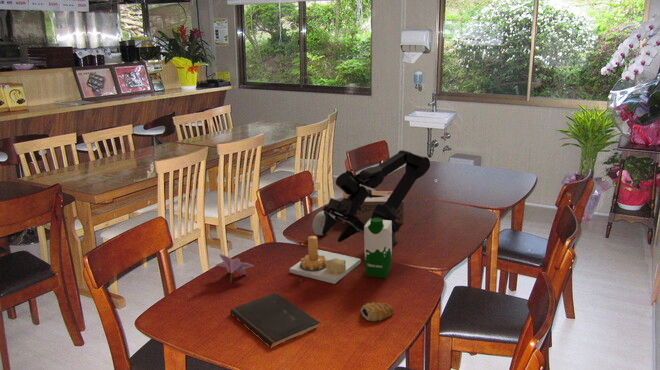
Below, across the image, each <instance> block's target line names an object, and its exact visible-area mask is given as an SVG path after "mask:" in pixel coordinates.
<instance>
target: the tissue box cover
mask: <svg viewBox="0 0 660 370" xmlns="http://www.w3.org/2000/svg"><path fill="white" fill-rule="evenodd" d="M371 191H372V198H370V197H367V198H366V199H365V201H364V202H363V204H362V205H361V207H360V208H361V209H362V210H361V211H357V213H356V215H355V216H356V217H358V218H359V219H360V220H361V221H363V222H364V223H365V224H366V223H367V222H368V221H369V220H370V219H372V218H371V216H372V214H373V211H374V210H375V208H376V206H377V205H378V204H381V205H383V204H384V203H386V201H387V200H388V198H389V197H390V195H391V194H392V192H393V191H394V190H371ZM342 193H343V194H342V198H341V200H342V199H343V198H346V199H347V197H348V196H349V195H348V194H346V193H345V192H344V191H343V192H342ZM404 201H405V200H403V201H402V202H401V204H400V206H399V207H398V209H397V214H396V219H395V222H397V223H398V224H404V211H405V209H404V206H405V204H404ZM346 219H347V218H346ZM346 222H347V221H346ZM341 223H342V224H345V221H344V220H342V219H341ZM348 223H349V222H348Z"/></svg>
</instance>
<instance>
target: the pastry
mask: <svg viewBox="0 0 660 370" xmlns="http://www.w3.org/2000/svg"><path fill="white" fill-rule="evenodd" d="M360 312H361V315H362V317H364V318H365V319H366V321H369V322H377V321H383V320H384V319H387V318H389V317H391V316H392V315H393V314H394V312H395V311H394V307H393V305H392V304H390V303H387V302H386V303H385V302H379V301H378V302H374V301H372V302H371V303H370V302H367V303H366V304H364V305H362V307H361V308H360Z"/></svg>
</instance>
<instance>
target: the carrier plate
mask: <svg viewBox="0 0 660 370" xmlns="http://www.w3.org/2000/svg"><path fill="white" fill-rule="evenodd" d="M318 255H319V256H322V255H323V256H325V259H326V266H322V267H323V268H321V269H319V268H317V269H314V270H310V269H309V268H305V269H304V268H303V265H301V260H299V262H297V263H296V264H294V265H293V266H291V267H290V268H289V273H291V274H294V275H298V276H301V277H306V278H310V279H314V280H318V281H323V282H326V283H330V284H334V285H335V284H336V283H337V282H339V281H340V280H341V279H343V278H344V277H346V275H348V274H349V273H350V272H351V271H352V270H354V269H355V268H356V267H358V266H359V265H360V264H361V262H362V259H361V258H358V257H353V256H349V255H345V254H341V253H334V252H330V251H327V250H326V251H325V250H321V249H318Z"/></svg>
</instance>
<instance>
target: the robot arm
mask: <svg viewBox="0 0 660 370" xmlns="http://www.w3.org/2000/svg"><path fill="white" fill-rule="evenodd" d="M430 161H431V160H430V159H429V158H428V157H427V156H422V155H419V154H414V153H412V152H411V151H408V150H404V149H401V150H398V152H397V153H396V154H394V155H392V156H391V157H389V158H388V159H386V160H385V161H383V162H381V163H380V164H378V165H376V166H371V167H368V168H365V169H362V170H361V171H360V172H358V173H357V174H355V175H354V173H353V171H351V170H348V169H347V170H346V171H345V172H343V173H341V174H339V175H338V176H337V177H336V180H335V185H336V186H337V187H338V188H339V189H340V190H342V192H343V193H344V192H345V193H346V194H348V195H349V196H348V197H347V199H346V198H343V197H342V198H343V199H342V198H341V199H338V198H337V199H336V198H333V197H330V198H329V202H328V204H326V205H324V207H323V208H322V211H324V214H325V224H324V227H323V231H322V234H323V235H322V236H325V235H326V234H327V233H328V232H329V231H330V230H331V229H332V228H333V227H334V226H335V225H336V224H337V223H338V220H339V219H341V221H342V220H344V221H345V223H344V228H343V230H342V231H341V233H340V235H339V237H338V238H337V242H338V243H341V242H343V241H345V240H346V239H348V238H350V237H351V236H353V235H356V234H358V233H360V232H362V233H364V226H365V225H366V223H364V222H363V221H361V220H360V219H359V218H358V217H356V216H355V215H356V213H357V211H361V210H362V209H361V208H360V207H361V205H362V204H363V202H364V201H365V199H366V198H367V197H370V198H372V191H373V190H371V189H376V188H378V187H379V186H380V185H381V184H382V183H383V182H384V179H385V178H386V177H387V176H388V175H390V174H392V173H393V172H394V171H396V170H398V169H400V168H401V167H402V166H404V165H405V169H404V174H403V175H402V176H401V179H400V180H399V181H398V182H397V184H396V186H395V187H394V189H393V190H392V191H393V192H392V194H391V195H390V197H389V198H388V200H387V201H386V203H384V204H383V205H381V204H378V205H377V206H376V208H375V210H374V211H373V214H372V216H371V218H381V219H383V220H390V221H392V248H393V247H394V246H395V245H396V244H398V241H397V240H396V239H397V238H396V233H397V232H399V230H400V227H401V226H400V225H401V224H400V223H397V222H395V219H396V214H397V209H398V207H399V206H400V204H401V202H402V201H404V200H405V197H406V196H407V194H408V193H409V191H410V190H411V188H412V187H413V185H414V184H415V183H416V180H417V179H420V178H421V177H423V176H424V175H425V174H426V173H427V172H428V171H429V169H430V167H431V162H430ZM366 187H367V188H366ZM369 188H370V189H369ZM346 218H347V219H346ZM346 221H347V222H346ZM348 222H349V223H348Z"/></svg>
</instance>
